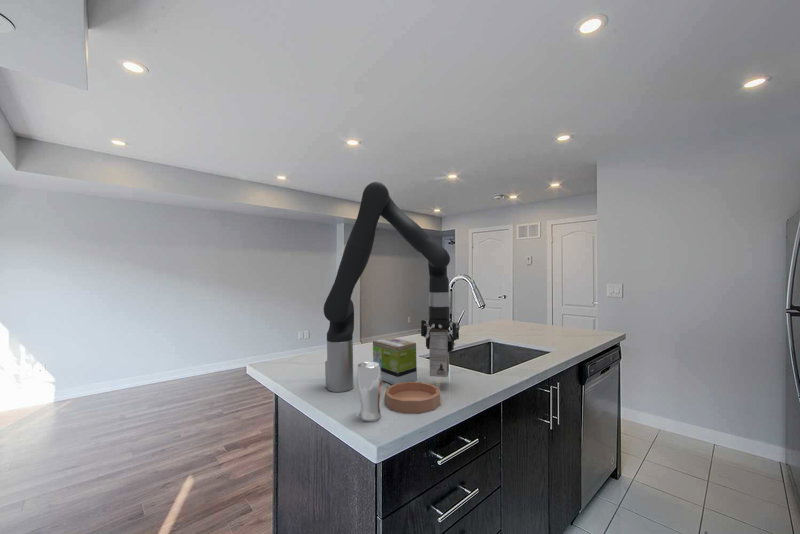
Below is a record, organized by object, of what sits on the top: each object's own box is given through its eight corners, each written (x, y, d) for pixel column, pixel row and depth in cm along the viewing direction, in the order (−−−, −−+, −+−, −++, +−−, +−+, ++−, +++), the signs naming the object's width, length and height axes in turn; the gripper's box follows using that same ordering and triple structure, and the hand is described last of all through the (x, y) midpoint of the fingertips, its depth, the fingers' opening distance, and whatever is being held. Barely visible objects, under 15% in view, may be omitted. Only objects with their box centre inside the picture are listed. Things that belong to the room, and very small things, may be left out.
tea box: (372, 378, 130) (371, 340, 130) (391, 372, 137) (391, 336, 137) (398, 387, 119) (397, 346, 119) (417, 380, 126) (417, 341, 126)
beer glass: (358, 413, 98) (357, 361, 98) (382, 411, 98) (381, 360, 99) (357, 423, 91) (356, 368, 91) (383, 422, 91) (381, 367, 92)
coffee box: (432, 369, 124) (431, 325, 124) (449, 369, 123) (449, 326, 123) (429, 376, 115) (429, 330, 115) (448, 377, 114) (447, 330, 114)
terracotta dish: (374, 405, 103) (374, 393, 103) (405, 388, 117) (405, 378, 117) (421, 418, 93) (421, 405, 93) (449, 398, 107) (449, 387, 107)
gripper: (416, 304, 120) (417, 349, 120) (452, 306, 112) (453, 355, 112) (427, 303, 126) (427, 345, 126) (462, 304, 118) (462, 350, 118)
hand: (439, 350), depth 119 cm, fingers closed on coffee box, 8 cm apart
